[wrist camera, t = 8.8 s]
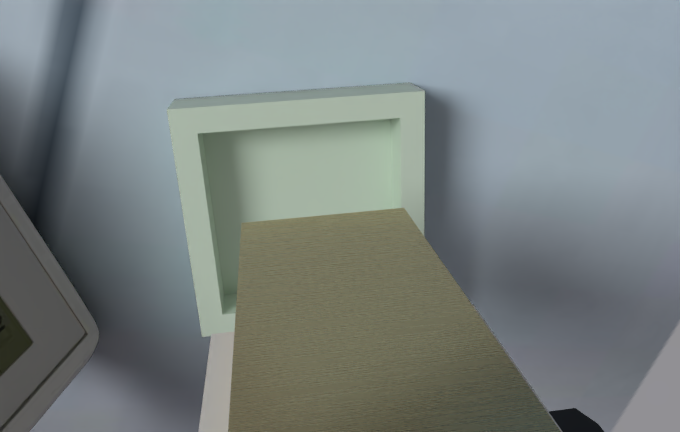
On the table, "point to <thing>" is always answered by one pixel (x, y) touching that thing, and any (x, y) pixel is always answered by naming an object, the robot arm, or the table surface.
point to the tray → (288, 169)
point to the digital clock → (35, 322)
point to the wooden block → (364, 335)
